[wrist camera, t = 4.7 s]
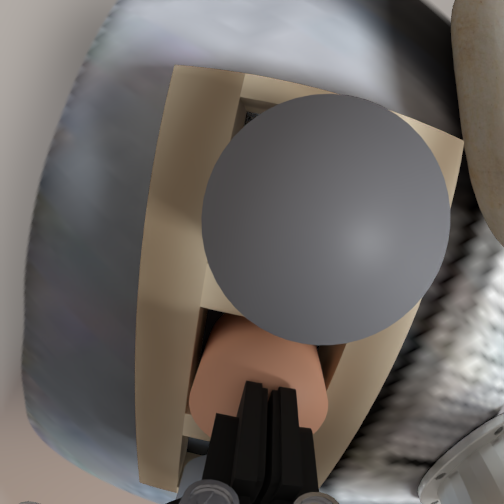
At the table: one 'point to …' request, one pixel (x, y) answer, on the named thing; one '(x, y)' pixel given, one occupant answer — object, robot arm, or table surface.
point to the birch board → (208, 291)
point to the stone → (482, 100)
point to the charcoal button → (325, 219)
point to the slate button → (191, 474)
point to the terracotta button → (255, 372)
